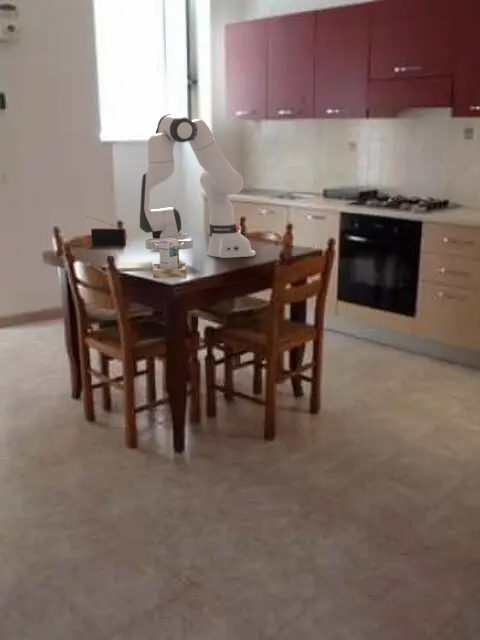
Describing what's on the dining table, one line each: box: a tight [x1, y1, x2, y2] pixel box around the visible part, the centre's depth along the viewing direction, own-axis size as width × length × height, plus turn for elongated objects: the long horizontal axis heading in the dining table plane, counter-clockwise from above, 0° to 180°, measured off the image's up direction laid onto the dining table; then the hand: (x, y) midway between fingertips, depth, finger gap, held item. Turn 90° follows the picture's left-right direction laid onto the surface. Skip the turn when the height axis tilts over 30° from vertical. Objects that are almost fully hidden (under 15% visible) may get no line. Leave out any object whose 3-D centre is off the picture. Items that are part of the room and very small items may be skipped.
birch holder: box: [152, 262, 187, 278], centre depth 299 cm, size 13×13×3 cm
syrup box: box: [158, 238, 180, 269], centre depth 297 cm, size 6×6×14 cm
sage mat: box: [116, 260, 153, 272], centre depth 312 cm, size 14×14×1 cm
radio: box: [86, 215, 127, 247], centre depth 363 cm, size 19×3×15 cm, turn 84°
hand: (169, 246), depth 306 cm, fingers open, 8 cm apart
